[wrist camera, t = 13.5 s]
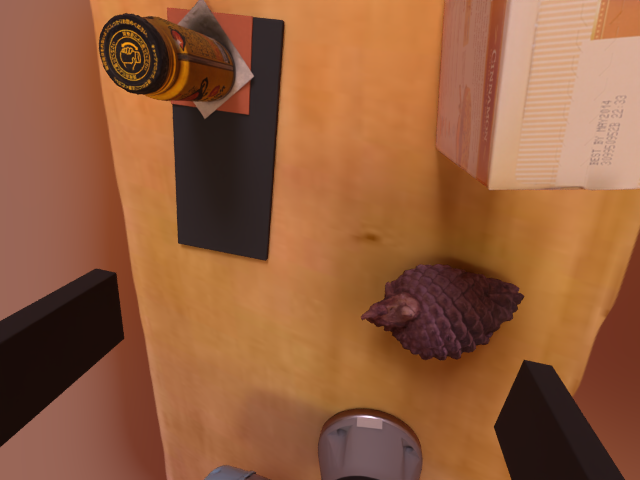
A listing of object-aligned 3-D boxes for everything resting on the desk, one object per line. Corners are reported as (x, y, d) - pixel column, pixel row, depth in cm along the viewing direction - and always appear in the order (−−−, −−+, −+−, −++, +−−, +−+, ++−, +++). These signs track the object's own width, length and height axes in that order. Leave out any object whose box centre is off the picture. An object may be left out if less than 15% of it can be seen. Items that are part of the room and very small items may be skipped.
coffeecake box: (508, 148, 34) (647, 194, 16) (433, 150, 35) (482, 195, 17) (534, -37, 28) (789, -285, 10) (444, -26, 30) (534, -230, 12)
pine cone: (513, 234, 36) (570, 318, 30) (484, 284, 44) (524, 359, 38) (351, 258, 36) (373, 349, 29) (350, 304, 43) (368, 385, 37)
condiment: (205, 119, 37) (130, 123, 26) (155, 48, 35) (51, 21, 24) (255, 76, 35) (194, 62, 24) (203, -2, 33) (111, -57, 22)
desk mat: (267, 258, 43) (265, 261, 42) (180, 241, 45) (177, 244, 44) (284, 21, 33) (282, 19, 32) (171, 9, 35) (166, 7, 34)
